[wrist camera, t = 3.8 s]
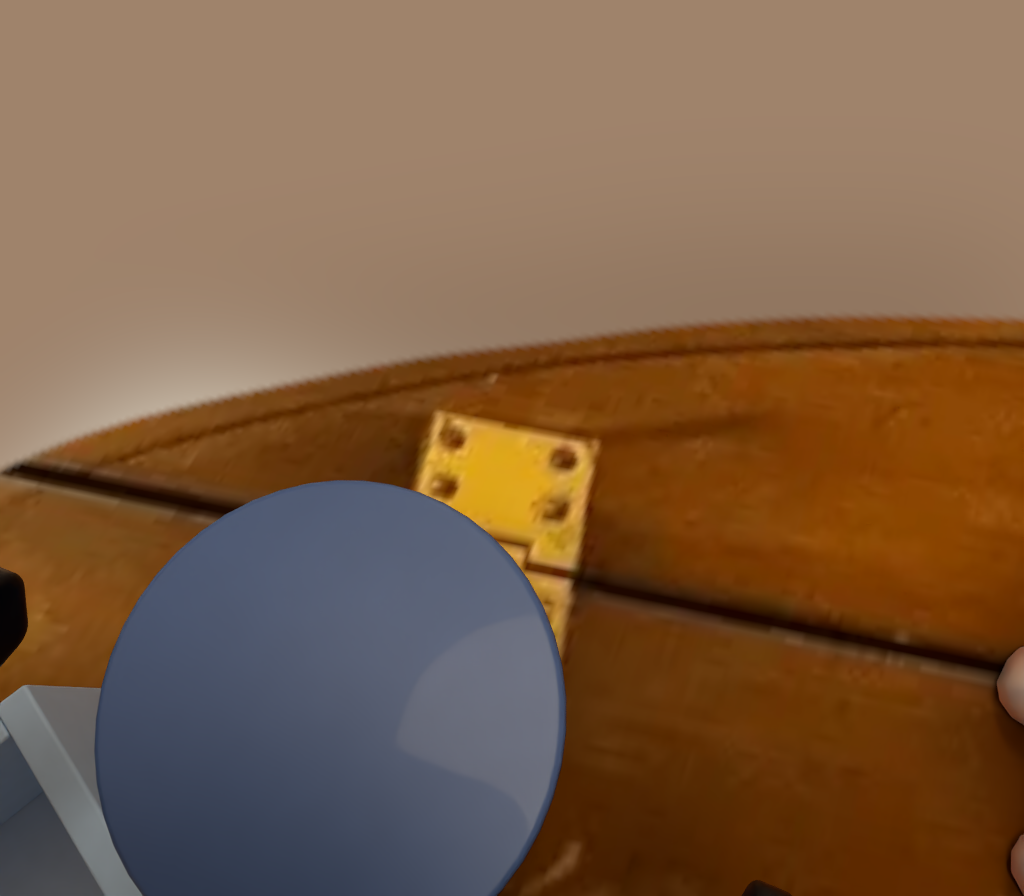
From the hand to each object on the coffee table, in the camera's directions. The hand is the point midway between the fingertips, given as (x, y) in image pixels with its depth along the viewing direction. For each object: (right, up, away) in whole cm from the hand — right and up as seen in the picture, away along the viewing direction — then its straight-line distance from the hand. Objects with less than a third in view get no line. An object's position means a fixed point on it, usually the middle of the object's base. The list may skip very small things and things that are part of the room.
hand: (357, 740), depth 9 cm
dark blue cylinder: (+1, -2, +8) cm, 8 cm away
